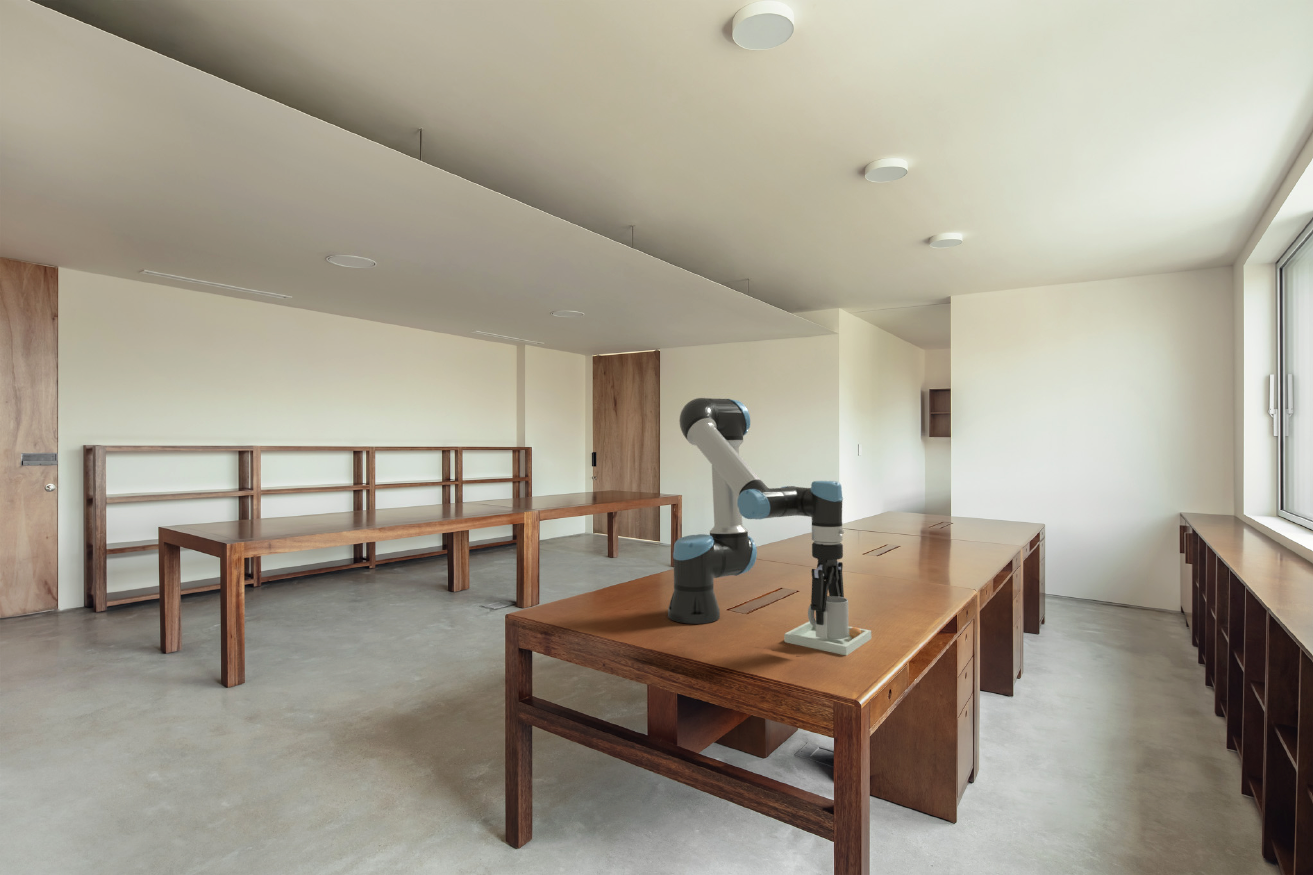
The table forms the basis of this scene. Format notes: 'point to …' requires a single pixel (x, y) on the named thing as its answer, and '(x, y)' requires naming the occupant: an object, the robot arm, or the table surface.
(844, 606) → the cup
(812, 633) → the tray
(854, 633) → the ball
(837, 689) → the table surface
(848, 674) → the table surface
